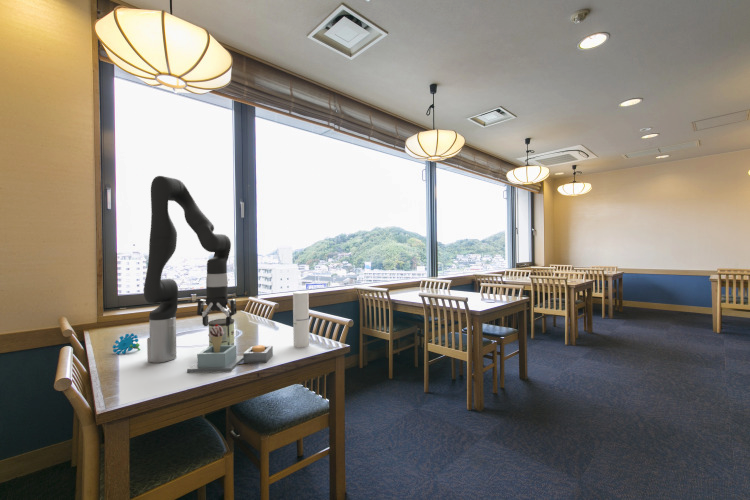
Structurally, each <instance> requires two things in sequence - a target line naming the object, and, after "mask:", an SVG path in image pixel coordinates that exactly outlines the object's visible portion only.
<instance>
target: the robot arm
mask: <svg viewBox="0 0 750 500" xmlns="http://www.w3.org/2000/svg"><path fill="white" fill-rule="evenodd" d="M170 201H171V202H176V204H178V205H179V206H180V207H181V208H182V210H183V214H184V219H185V221H186V223H187V225H188V226H189V227H190V228H191V229H192V230H193V232H194V233H195V234H196V236H197V239H198V241H199V244H200V245H201V247H202V248H203V249H204V250H205V251H206V252H208V253H213V257H211V258H209V259H208V260H207V261H206V277H205V278H206V279H205V280H206V281H205V283H206V286H205V291H206V292H205V294H206V296H205V297H206V299H204V298H202V299H199V300H198V301H197V311H196V313H197V316H201V317H202V325H203V327H209V324H208V322H209V314H210V313H211V312H215V311H217V312H222V313H223V314H225V319H226V326H230V324H231V319H232V316H235V315H237V313H238V312H237V310H238V309H237V299H235V298H233V299H228V284H229V283H228V273H227V271H228V265H227V263H228V260H229V257H230V252H231V250H232V249H231V246H232V242H231V239H230V238H229V236H227V235H226V234H222V233H221V234H219V233H214V230H215V226H214V224H213V223H212V222H211V221H210V219H209V218H208V217H207V216H206V215H205V214H204V212H203V211H202V209H200V208H199V206H198V205H197V203H196V201H195V200H194V198H193V197H192V194H191V193H190V191H189V189H188V188H187V186H186V185H185V184H184V183H183V182H182V181H181V180H180V179H177V178H173V177H169V176H164V175H157V176H155V177H154V178H153V180H152V182H151V185H150V208H151V210H150V211H151V214H150V215H151V220H150V231H149V232H150V233H149V241H148V242H149V243H148V244H149V245H148V248H149V249H148V261H147V268H146V274H145V275H146V276H145V280H144V285H143V297H144V300H145V302H147V303H149V304H155V303H160V304H159V306H157V307H156V308H155V309H153V310H152V311H150V312H149V313H148V314H149V315H148V316H149V317H148V319H149V321H148V322H149V324H148V325H149V337H147V339H146V340H147V341H146V347H147V349H146V351H147V353H146V354H147V358H146V359H147V362H150V363H153V364H154V363H159V364H160V363H164V362H170V361H172V360H175V359H176V358H177V316H176V315H177V311H178V303H179V302H178V301H179V300H178V299H179V288H178V284H177V282H176V281H175V280H174V279H171V278H164V279H162V274H163V270H164V268H165V266H166V265H167V263H168V262H169V260H170V259H171V258H172V257H173V255H174V253H175V252H176V249H177V240H178V233H177V229H176V227H175V224H174V223H173V221H172V219H171V216H170V214H169V202H170ZM205 305H206V306H207V307H206V308H205V309H204V307H205ZM228 305H229V306H230V308H229V307H228Z"/></svg>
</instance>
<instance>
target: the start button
mask: <svg viewBox="0 0 750 500" xmlns="http://www.w3.org/2000/svg"><path fill="white" fill-rule="evenodd" d="M253 346H254V347H252V352H264V351H265V346H266V345H261V344H260V345H259V344H257V345H253Z"/></svg>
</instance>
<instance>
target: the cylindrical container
mask: <svg viewBox="0 0 750 500" xmlns="http://www.w3.org/2000/svg"><path fill="white" fill-rule="evenodd" d="M309 299H310V298H309V291H307V290H305V291H304V290H303V291H300V290H297V291H293V292H292V315H293V317H292V318H293V319H292V323H293V325H292V326H293V328H292V329H293V332H292V333H293V334H292V335H293V338H292V339H293V347H294V348H297V349H298V348H299V349H300V348H307V347H309V345H310V317H309V316H310V313H309V312H310V311H309V309H310V308H309V307H310V306H309V305H310V304H309V301H310V300H309Z"/></svg>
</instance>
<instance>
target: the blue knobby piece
mask: <svg viewBox="0 0 750 500" xmlns="http://www.w3.org/2000/svg"><path fill="white" fill-rule="evenodd" d="M119 339H120V340H118V339H116V340H115V341H114V343H115V344H113V345H112V352H113V353H116V354H117V355H120V354H122V355H123V354H124V355H125V354H126V353H127V351H128V352H131V351H132V350H133V349H134V350H138V351H141V349H140V346H141V345H140V343H138V342H139V339H138V335H137V334H136V335H135V334H134V333H130V334H129V333H125V336H123V335H122V336H120V337H119ZM134 342H135V343H134Z"/></svg>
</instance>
